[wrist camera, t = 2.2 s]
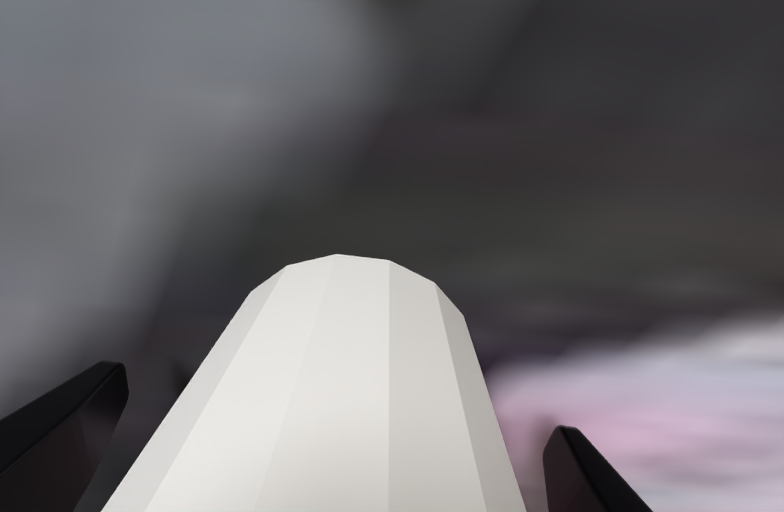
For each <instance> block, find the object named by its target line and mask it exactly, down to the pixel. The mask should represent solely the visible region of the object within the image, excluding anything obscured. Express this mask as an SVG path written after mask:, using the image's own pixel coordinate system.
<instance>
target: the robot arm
mask: <svg viewBox="0 0 784 512" xmlns="http://www.w3.org/2000/svg"><path fill="white" fill-rule="evenodd" d="M128 395H129V390H128V383H127V376H126V370H125V366H124V365H123V364H122V363H118V362H111V361H100V362H98V363H96V364H94V365H92V366H91V367H89V368H87V369H86V370H84V371H82V372H81V373H79V374H77V375H75V376H74V377H72V378H70V379H69V380H67V381H65V382H64V383H62V384H60V385H58V386H57V387H55V388H53V389H52V390H50V391H48V392H47V393H45V394H43V395H41V396H40V397H38V398H36V399H35V400H33V401H31V402H30V403H28V404H26V405H24V406H23V407H21V408H19V409H18V410H16V411H14V412H13V413H11V414H9V415H7V416H6V417H4V418H2V419H1V420H0V512H73V510H74V508H75V507H76V505H77V503H78V502H79V500H80V498H81V496H82V495H83V493H84V491H85V490H86V488H87V486H88V484H89V483H90V481H91V479H92V477H93V475H94V473H95V471H96V469H97V467H98V465H99V463H100V461H101V458H102V456H103V454H104V452H105V450H106V447H107V445H108V443H109V441H110V439H111V436H112V434H113V432H114V430H115V428H116V425H117V423H118V421H119V419H120V416H121V414H122V412H123V410H124V408H125V405H126V403H127V400H128ZM543 466H544V475H545V484H546V492H547V501H548V510H549V512H653V511H652V510H651V509H650V508H649V507H648V506H647V504H646V503H645V502H644V501H643V500H642V499H641V498H640V497H639V496H638V494H637V493H636V492H635V491H634V490H633V489H632V488H631V487H630V486H629V484H628V483H627V482H626V481H625V480H624V479H623V478H622V477H621V476H620V475H619V473H618V472H617V471H616V470H615V469H614V468H613V467H612V466H611V465H610V463H609V462H608V461H607V460H606V459H605V458H604V457H603V456H602V455H601V453H600V452H599V451H598V450H597V449H596V448H595V447H594V446H593V445H592V443H591V442H590V441H589V440H588V439H587V438H586V437H585V436H584V435H583V434H582V432H581V431H580V430H578V429H577V428H575V427H570V426H563V425H558V426H557V427H556V428H555V429H554V431H553V433H552V435H551V437H550V439H549V441H548V442H547V444H546V446H545V448H544V452H543Z"/></svg>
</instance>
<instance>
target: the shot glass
mask: <svg viewBox="0 0 784 512" xmlns="http://www.w3.org/2000/svg"><path fill="white" fill-rule="evenodd" d="M101 512H526V509H525V505H524V502H523V499H522V496H521V493H520V490H519V487H518V484H517V481H516V477H515V474H514V471H513V468H512V465H511V462H510V459H509V456H508V453H507V449H506V446H505V443H504V440H503V437H502V434H501V431H500V428H499V425H498V422H497V418H496V415H495V412H494V409H493V406H492V403H491V400H490V397H489V394H488V390H487V387H486V384H485V381H484V378H483V375H482V372H481V369H480V366H479V362H478V359H477V356H476V353H475V350H474V347H473V344H472V341H471V338H470V335H469V331H468V328H467V325H466V322H465V319H464V316H463V315H462V313H461V312H460V311H459V310H458V309H457V308H456V307H455V305H454V304H453V303H452V302H451V301H450V300H449V299H448V297H447V296H446V295H445V294H444V293H443V292H442V291H441V289H440V288H439V287H438V286H437V285H436V284H435V283H434V282H432V281H430V280H428V279H426V278H424V277H422V276H420V275H418V274H416V273H414V272H412V271H410V270H408V269H406V268H404V267H402V266H400V265H398V264H396V263H394V262H392V261H390V260H382V259H374V258H365V257H357V256H348V255H339V254H335V255H331V256H326V257H322V258H318V259H314V260H309V261H305V262H301V263H296V264H292V265H288V266H286V267H284V268H283V269H282V270H280V271H279V272H278V273H276V274H275V275H273V276H272V277H271V278H269V279H268V280H266V281H265V282H264V283H262V284H261V285H260V286H258V287H257V288H255V289H254V290H253V291H251V292H250V294H249V295H248V297H247V298H246V300H245V301H244V303H243V304H242V306H241V307H240V308H239V310H238V311H237V313H236V314H235V316H234V317H233V319H232V320H231V322H230V323H229V325H228V326H227V328H226V329H225V330H224V332H223V333H222V335H221V336H220V338H219V339H218V341H217V342H216V344H215V345H214V347H213V348H212V350H211V351H210V352H209V354H208V355H207V357H206V358H205V360H204V361H203V363H202V364H201V366H200V367H199V369H198V370H197V372H196V373H195V375H194V376H193V377H192V379H191V380H190V382H189V383H188V385H187V386H186V388H185V389H184V391H183V392H182V394H181V395H180V397H179V398H178V399H177V401H176V402H175V404H174V405H173V407H172V408H171V410H170V411H169V413H168V414H167V416H166V417H165V419H164V420H163V421H162V423H161V424H160V426H159V427H158V429H157V430H156V432H155V433H154V435H153V436H152V438H151V439H150V441H149V442H148V443H147V445H146V446H145V448H144V449H143V451H142V452H141V454H140V455H139V457H138V458H137V460H136V461H135V463H134V464H133V466H132V467H131V468H130V470H129V471H128V473H127V474H126V476H125V477H124V479H123V480H122V482H121V483H120V485H119V486H118V488H117V489H116V490H115V492H114V493H113V495H112V496H111V498H110V499H109V501H108V502H107V504H106V505H105V507H104V508H103V510H102V511H101Z"/></svg>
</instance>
